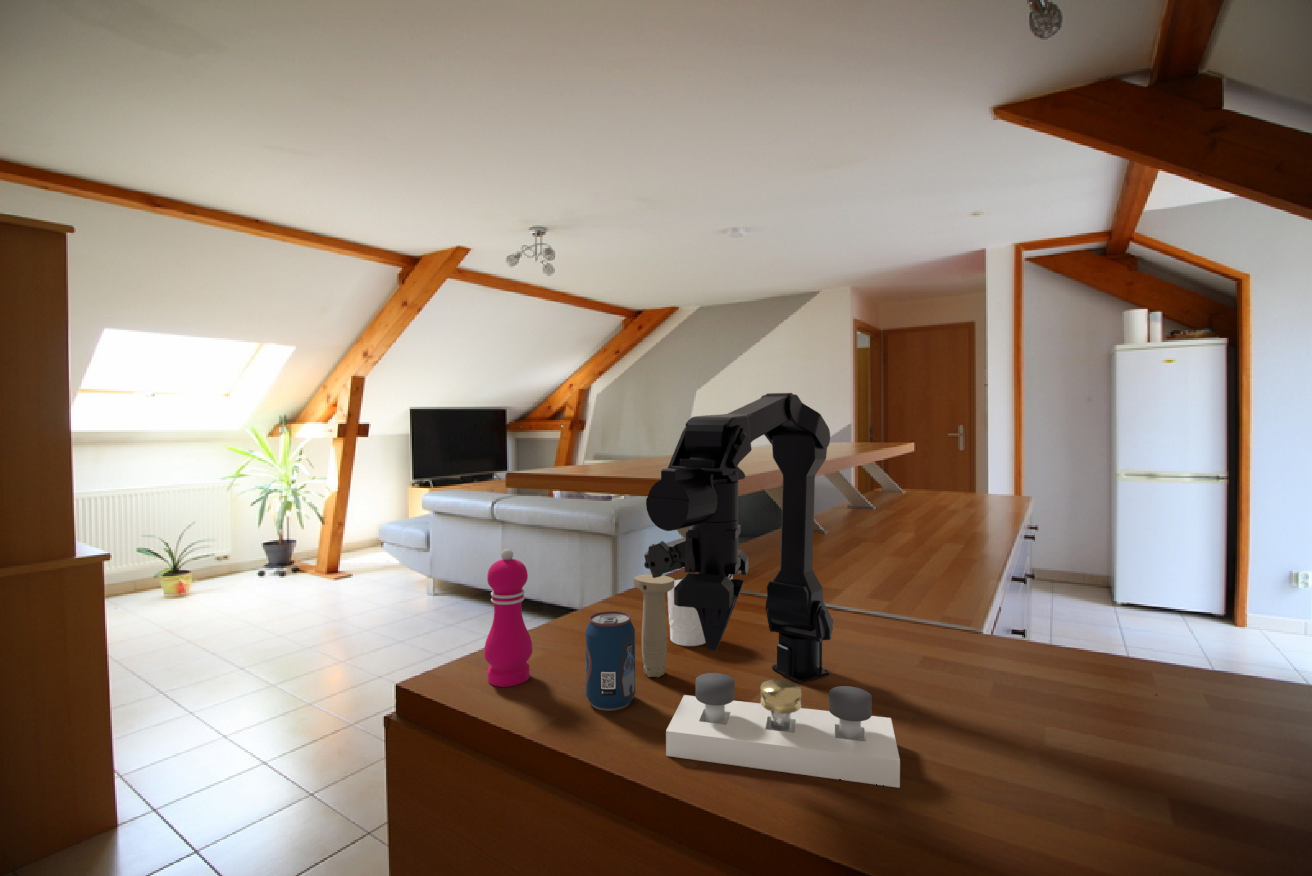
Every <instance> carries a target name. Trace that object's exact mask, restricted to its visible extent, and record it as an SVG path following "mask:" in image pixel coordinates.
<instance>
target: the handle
mask: <svg viewBox="0 0 1312 876" xmlns="http://www.w3.org/2000/svg"><path fill="white" fill-rule="evenodd" d="M674 581H675V578H674V577H673V578H672V577H671V576H667V575H664V574H662V576H660V577H657V578H653V577H652V574H651V573H643V574H639V575H636V576H634V577H633V586H634V588H636V589H638V590H639V591H641V592H642V599H643V602H642V603H643V604H642V619H641V620H642V624H641V655H642V657H641V658H642V662H643V673H644V674H645V675H646V676H647V677H648V678H660V677H661V676H664V675H665V673H666V665H665V664H666V660H667V651H668V650H667V649H668V633H667V632H668V631H667V618H666V599H665V598H666V594H668V593H667V592H668V591H670V590H672V589H673V588H674Z"/></svg>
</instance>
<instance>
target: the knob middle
mask: <svg viewBox="0 0 1312 876" xmlns="http://www.w3.org/2000/svg"><path fill="white" fill-rule="evenodd" d="M760 704H761V705H762V707H764V708H765V709H767V710H769V711H771V727H772V728H773V729H775V730H778V731H787V730H789V729H790V728H791V713H792V712H796V711H798V710H799V709H800V708H802V687H801V686H800V685H799V684H797V683H796V682H793V681H791V680H786V679H781V678H779V679H777V678H776V679H769V680H765V681H763V682H761V684H760Z"/></svg>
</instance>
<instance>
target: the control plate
mask: <svg viewBox="0 0 1312 876" xmlns="http://www.w3.org/2000/svg"><path fill="white" fill-rule="evenodd" d="M894 730H895V729H894V725H893V721H892V718H891V717H885V716H875V715H872V716H871V718H869V719H868V720H865V721H861V737H860V738H858V739H847V738H844V737H842V736H841V735H840V734H839V718H837V717H835V716H834V715H832V714H831V713H830V711H829V710H821V709H814V708H813V709H812V708H803V707H801V708H800V709H799V710H798V711H796V712H792V713H791V728H790V729H789V730H787V731H778V730H775V729H773V728H772V727H771V711H769V710H767V709H765V708H764V707H762V705H761V702H759V703H758V702H750V701H740V700H733V701H732V702H731V703H729V704H726V705H725V720H724V721H722V722H719V723H712V722H709V721H707V720H706V719H705V704H704V703H701V702H699V701H698V700H697V699H696V695H687V694H683V696H682V699H681V701H680V703H679V704H678V706H677V708H676V711H675V712H674V715H672V719H671V720H670V722H669V724H668V726H667V728H666V730H665V756H666V757H673V758H680V759H686V760H687V759H688V760H693V761H701V762H708V763H716V764H724V765H731V766H736V767H737V766H739V767H745V768H752V769H760V770H766V771H767V770H768V771H774V772H781V773H782V772H783V773H787V774H788V773H789V774H796V775H804V776H805V775H806V776H811V777H816V778H817V777H819V778H825V779H833V780H839V779H841V780H842V781H847V782H855V783H862V784H870V785H876V784H877V786H883V785H884V787H892V788H898V789H900V787H901V779H900V778H901V759H900V758H901V757H900V754H899V749H898V745H897V741H896V740H897V739H896V736H895V732H894ZM841 780H840V781H841Z"/></svg>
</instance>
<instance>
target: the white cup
mask: <svg viewBox="0 0 1312 876" xmlns="http://www.w3.org/2000/svg"><path fill="white" fill-rule="evenodd" d="M682 579H683V578H681V579H676V580H675V579H674V588H675V586H676V585H677V584H678V583H679V582H680V581H681V580H682ZM674 588H673V589H672V590H670V591H668V592H667V593H666V594H667V611H668V624H669V638H670V639H669V640H670V641H671V642H672V643H673V644H675V645H678V646H683V647H697V646H702V645H704V644H706V642H705V638H704V634H703V630H702V626H701V623H700V619H699V616H698V612H697V610H696V609H695V608H694V607H681V606H676V605H674Z"/></svg>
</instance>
